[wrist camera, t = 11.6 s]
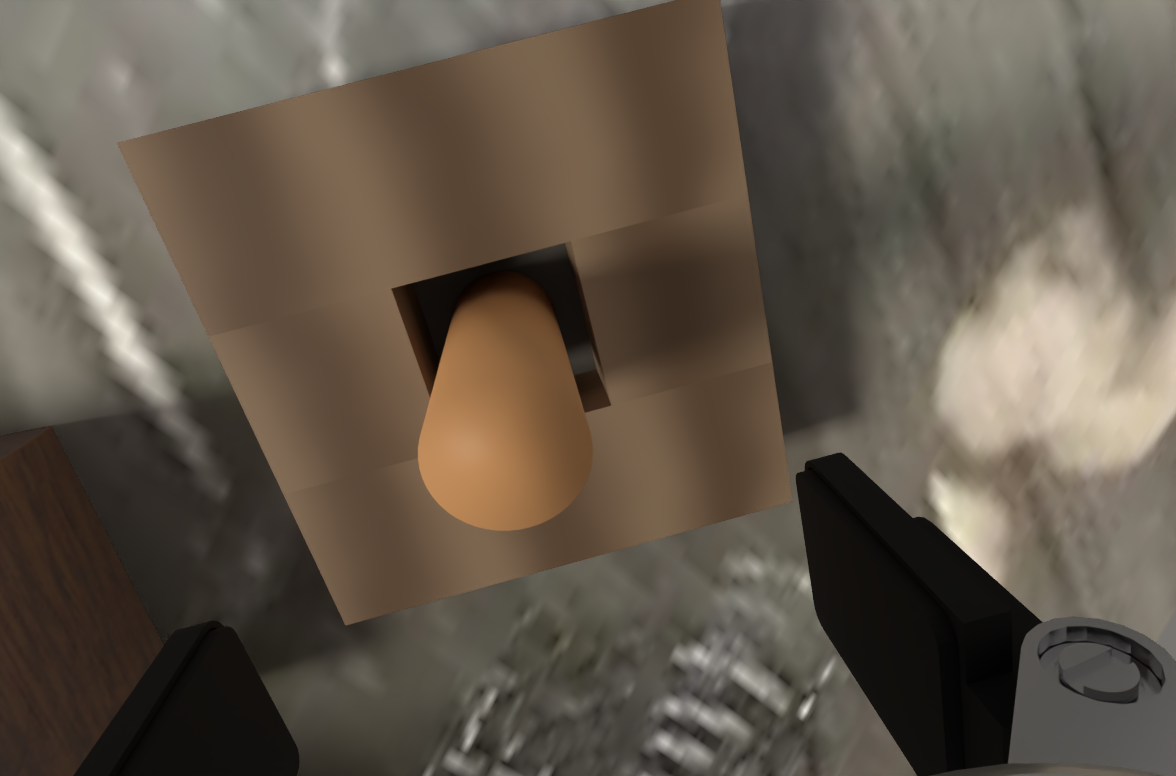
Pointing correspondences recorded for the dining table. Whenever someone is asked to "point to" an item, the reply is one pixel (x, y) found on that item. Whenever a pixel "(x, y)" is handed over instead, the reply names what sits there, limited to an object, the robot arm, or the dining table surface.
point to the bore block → (467, 251)
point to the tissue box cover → (60, 614)
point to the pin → (504, 410)
